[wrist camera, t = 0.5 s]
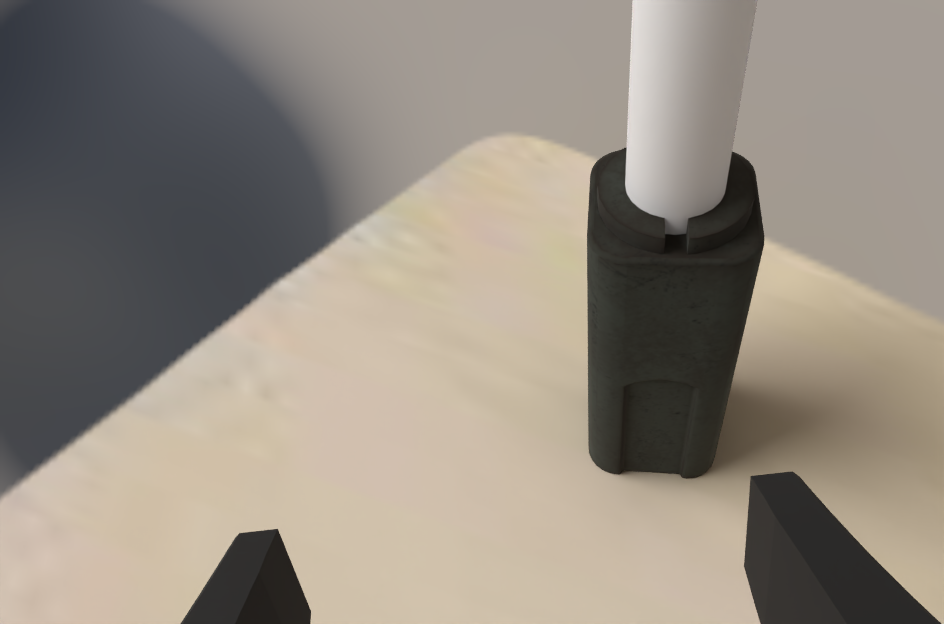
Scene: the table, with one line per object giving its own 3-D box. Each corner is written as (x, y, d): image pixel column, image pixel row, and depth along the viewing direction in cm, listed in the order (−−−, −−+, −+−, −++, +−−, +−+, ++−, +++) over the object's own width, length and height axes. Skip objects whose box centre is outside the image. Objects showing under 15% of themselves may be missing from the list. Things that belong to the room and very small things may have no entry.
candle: (708, 376, 35) (845, -332, 16) (715, 480, 32) (895, -249, 13) (591, 371, 36) (591, -307, 17) (587, 472, 33) (581, -222, 14)
